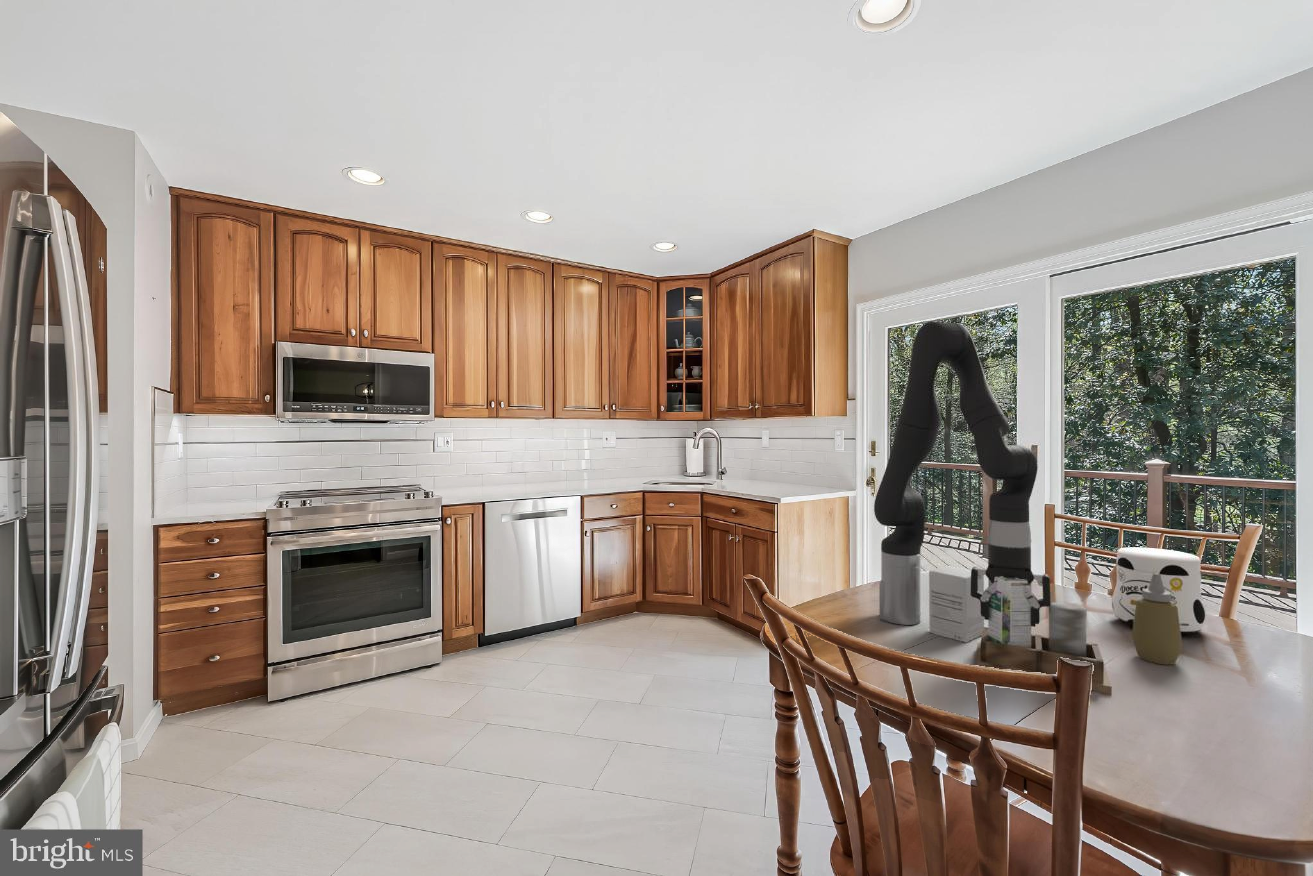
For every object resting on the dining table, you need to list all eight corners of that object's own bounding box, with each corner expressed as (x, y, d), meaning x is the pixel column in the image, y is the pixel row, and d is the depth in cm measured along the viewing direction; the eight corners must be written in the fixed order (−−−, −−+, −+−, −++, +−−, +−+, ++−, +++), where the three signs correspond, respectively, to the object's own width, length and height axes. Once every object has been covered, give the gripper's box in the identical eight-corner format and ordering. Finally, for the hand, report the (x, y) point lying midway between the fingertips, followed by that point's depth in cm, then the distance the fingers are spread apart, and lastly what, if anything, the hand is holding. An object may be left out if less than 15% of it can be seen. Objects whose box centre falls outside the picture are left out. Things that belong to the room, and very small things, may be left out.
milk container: (1126, 634, 137) (1126, 558, 136) (1101, 612, 153) (1102, 544, 152) (1221, 644, 130) (1222, 564, 130) (1185, 620, 146) (1185, 549, 146)
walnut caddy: (974, 669, 117) (974, 602, 117) (977, 649, 128) (977, 588, 127) (1111, 694, 106) (1111, 621, 106) (1103, 671, 116) (1104, 604, 116)
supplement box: (947, 624, 144) (947, 564, 144) (985, 635, 137) (985, 571, 137) (927, 632, 139) (927, 569, 139) (965, 643, 132) (966, 577, 131)
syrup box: (986, 642, 122) (986, 573, 122) (1013, 641, 122) (1012, 572, 122) (1005, 652, 116) (1004, 580, 116) (1033, 651, 117) (1032, 579, 116)
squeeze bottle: (1170, 655, 124) (1170, 571, 124) (1190, 669, 116) (1191, 580, 116) (1124, 650, 127) (1124, 568, 127) (1141, 664, 119) (1142, 577, 119)
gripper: (968, 542, 120) (968, 621, 120) (1052, 549, 112) (1052, 633, 112) (970, 536, 126) (971, 612, 126) (1050, 542, 118) (1050, 623, 118)
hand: (1009, 622), depth 119 cm, fingers closed on syrup box, 7 cm apart
